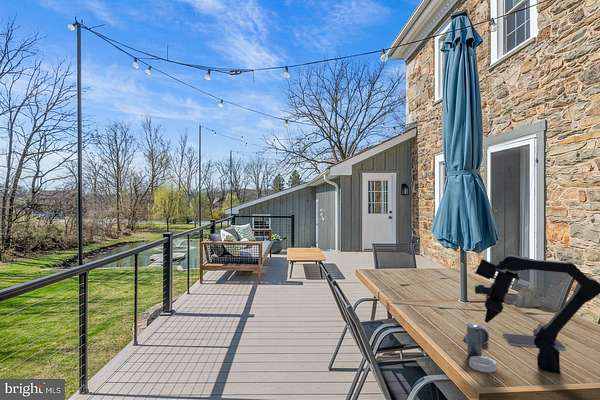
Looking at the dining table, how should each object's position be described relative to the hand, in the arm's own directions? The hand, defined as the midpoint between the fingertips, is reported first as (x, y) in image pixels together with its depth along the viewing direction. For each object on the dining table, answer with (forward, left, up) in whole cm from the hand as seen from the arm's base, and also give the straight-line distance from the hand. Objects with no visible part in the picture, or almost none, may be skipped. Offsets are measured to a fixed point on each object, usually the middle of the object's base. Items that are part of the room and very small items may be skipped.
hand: (486, 319), depth 144 cm
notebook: (-15, -31, -17) cm, 38 cm away
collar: (0, +10, -16) cm, 19 cm away
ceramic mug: (+7, -18, -16) cm, 25 cm away
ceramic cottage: (-8, -107, -16) cm, 108 cm away
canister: (+4, +2, -16) cm, 16 cm away
